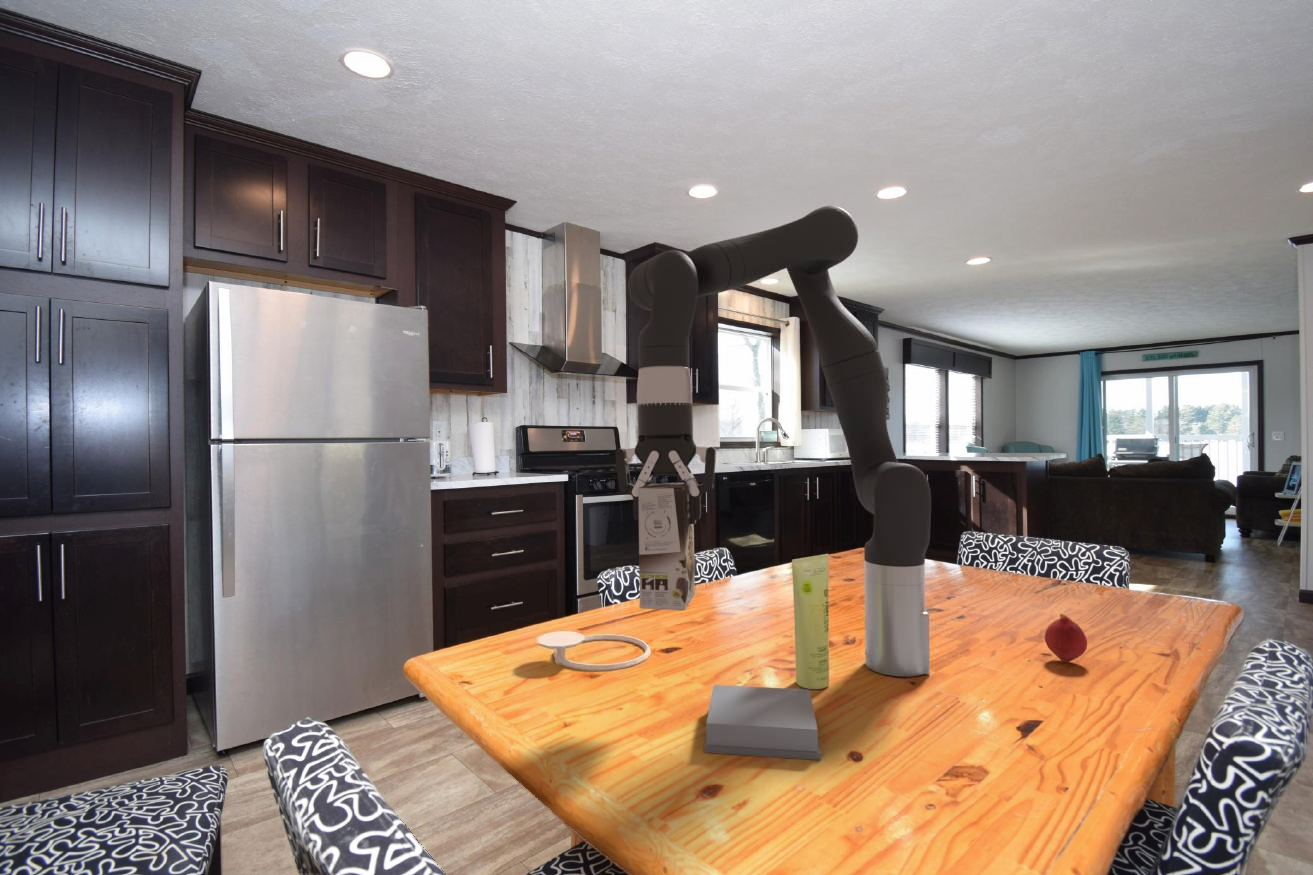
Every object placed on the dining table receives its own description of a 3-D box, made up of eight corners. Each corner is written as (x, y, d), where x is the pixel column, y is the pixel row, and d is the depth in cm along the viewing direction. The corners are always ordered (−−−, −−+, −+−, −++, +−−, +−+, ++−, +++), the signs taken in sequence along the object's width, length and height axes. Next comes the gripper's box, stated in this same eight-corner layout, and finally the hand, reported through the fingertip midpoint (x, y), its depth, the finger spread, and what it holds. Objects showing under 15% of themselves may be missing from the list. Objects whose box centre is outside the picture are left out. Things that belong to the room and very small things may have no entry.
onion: (1083, 659, 107) (1083, 611, 107) (1090, 670, 102) (1089, 620, 102) (1043, 654, 109) (1042, 607, 109) (1047, 665, 104) (1047, 616, 104)
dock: (812, 713, 87) (811, 688, 87) (820, 760, 75) (820, 730, 75) (711, 708, 89) (711, 683, 89) (704, 752, 77) (703, 724, 77)
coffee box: (686, 611, 83) (684, 486, 83) (638, 609, 84) (636, 486, 84) (696, 594, 92) (694, 481, 92) (652, 592, 93) (650, 481, 93)
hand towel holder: (669, 634, 110) (559, 657, 99) (669, 660, 110) (559, 686, 99) (620, 612, 124) (519, 629, 113) (620, 634, 124) (519, 654, 113)
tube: (828, 693, 94) (826, 560, 94) (793, 689, 95) (791, 558, 95) (830, 679, 99) (828, 553, 99) (796, 676, 101) (795, 552, 101)
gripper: (719, 401, 90) (721, 520, 90) (619, 404, 93) (621, 520, 93) (715, 399, 83) (717, 527, 83) (607, 402, 85) (609, 527, 85)
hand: (667, 523), depth 88 cm, fingers closed on coffee box, 6 cm apart
